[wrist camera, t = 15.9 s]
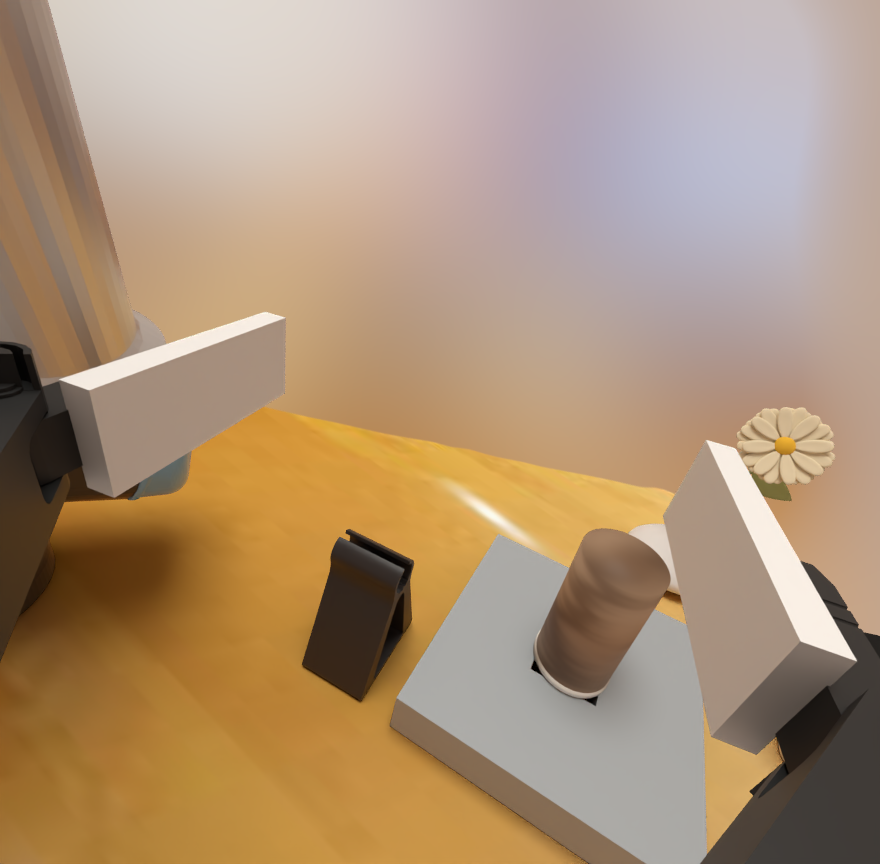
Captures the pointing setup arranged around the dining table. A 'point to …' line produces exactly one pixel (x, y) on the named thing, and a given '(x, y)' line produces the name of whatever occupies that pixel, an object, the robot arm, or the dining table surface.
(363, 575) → the phone stand
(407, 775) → the dining table surface
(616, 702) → the slate board
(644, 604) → the walnut peg
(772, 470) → the flower in vase
